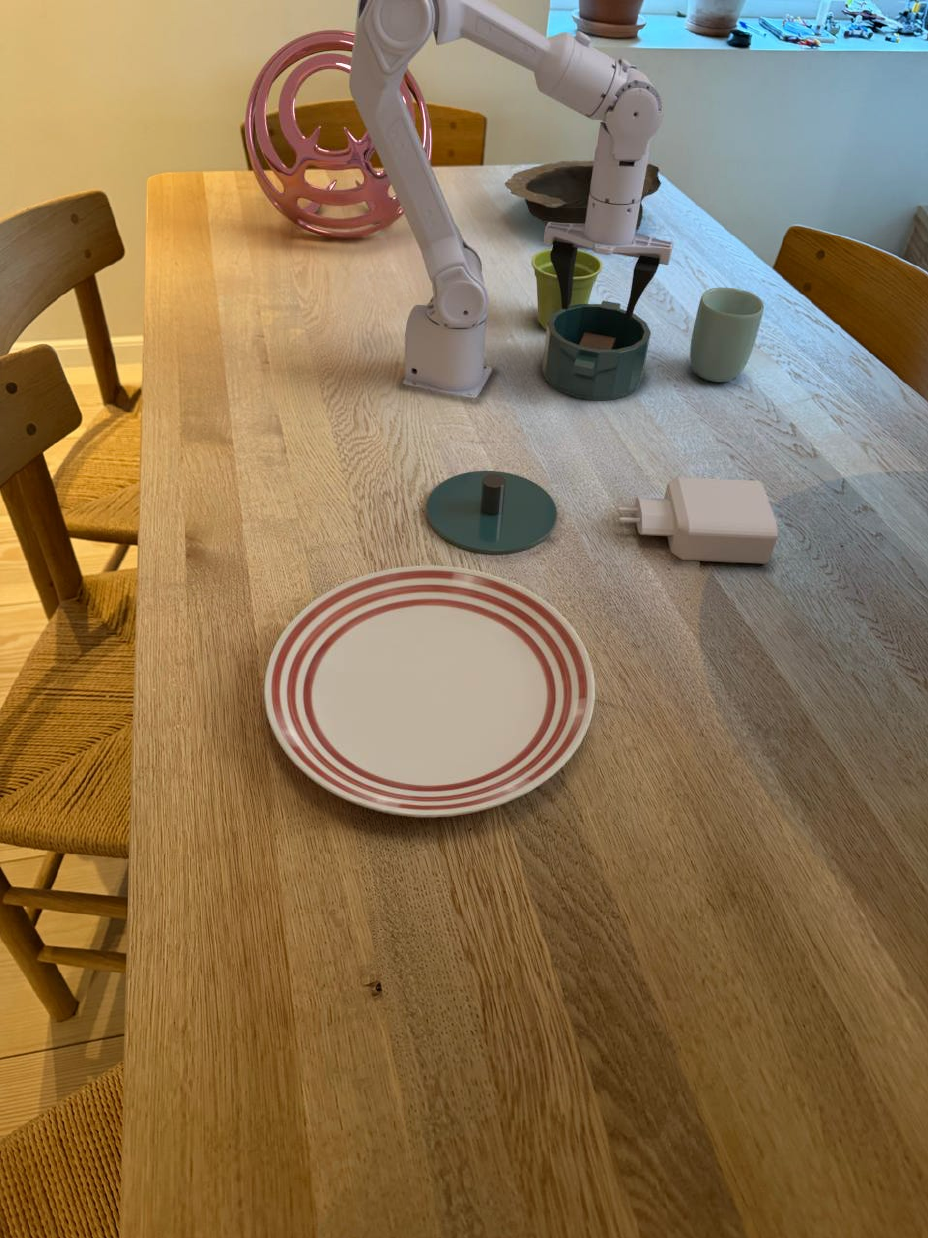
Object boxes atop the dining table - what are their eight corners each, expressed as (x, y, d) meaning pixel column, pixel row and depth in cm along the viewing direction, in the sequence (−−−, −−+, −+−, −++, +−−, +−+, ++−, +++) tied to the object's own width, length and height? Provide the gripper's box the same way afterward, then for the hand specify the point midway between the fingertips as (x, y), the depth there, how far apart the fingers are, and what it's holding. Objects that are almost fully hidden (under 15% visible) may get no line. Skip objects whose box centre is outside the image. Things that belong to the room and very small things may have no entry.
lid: (408, 541, 97) (408, 504, 93) (449, 468, 106) (450, 431, 103) (538, 571, 94) (543, 534, 91) (568, 494, 104) (573, 457, 100)
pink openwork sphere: (288, 47, 154) (261, -37, 127) (452, 108, 157) (460, 38, 130) (240, 220, 158) (204, 174, 132) (401, 277, 161) (398, 243, 135)
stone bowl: (666, 258, 149) (674, 197, 142) (506, 262, 149) (506, 201, 143) (647, 195, 166) (653, 139, 160) (503, 199, 167) (503, 143, 160)
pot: (526, 399, 117) (531, 351, 113) (559, 334, 130) (565, 288, 125) (627, 419, 115) (637, 371, 110) (651, 351, 128) (660, 305, 123)
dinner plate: (484, 899, 68) (487, 874, 66) (197, 731, 78) (191, 704, 76) (642, 667, 85) (649, 641, 83) (391, 553, 95) (391, 527, 93)
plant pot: (516, 330, 130) (521, 268, 124) (538, 302, 136) (544, 242, 130) (581, 345, 128) (590, 283, 122) (601, 316, 134) (610, 255, 128)
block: (573, 375, 121) (578, 346, 118) (580, 360, 124) (584, 331, 121) (604, 381, 120) (609, 352, 118) (610, 366, 123) (615, 337, 120)
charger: (610, 505, 102) (749, 512, 103) (618, 561, 96) (767, 568, 96) (617, 469, 99) (760, 476, 99) (626, 524, 93) (780, 531, 93)
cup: (744, 393, 121) (765, 319, 114) (682, 384, 122) (699, 310, 115) (744, 363, 126) (764, 291, 119) (684, 355, 127) (701, 283, 120)
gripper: (543, 197, 104) (530, 314, 113) (676, 218, 101) (652, 337, 111) (557, 175, 109) (544, 290, 118) (684, 195, 106) (660, 310, 116)
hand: (597, 311), depth 115 cm, fingers open, 7 cm apart
